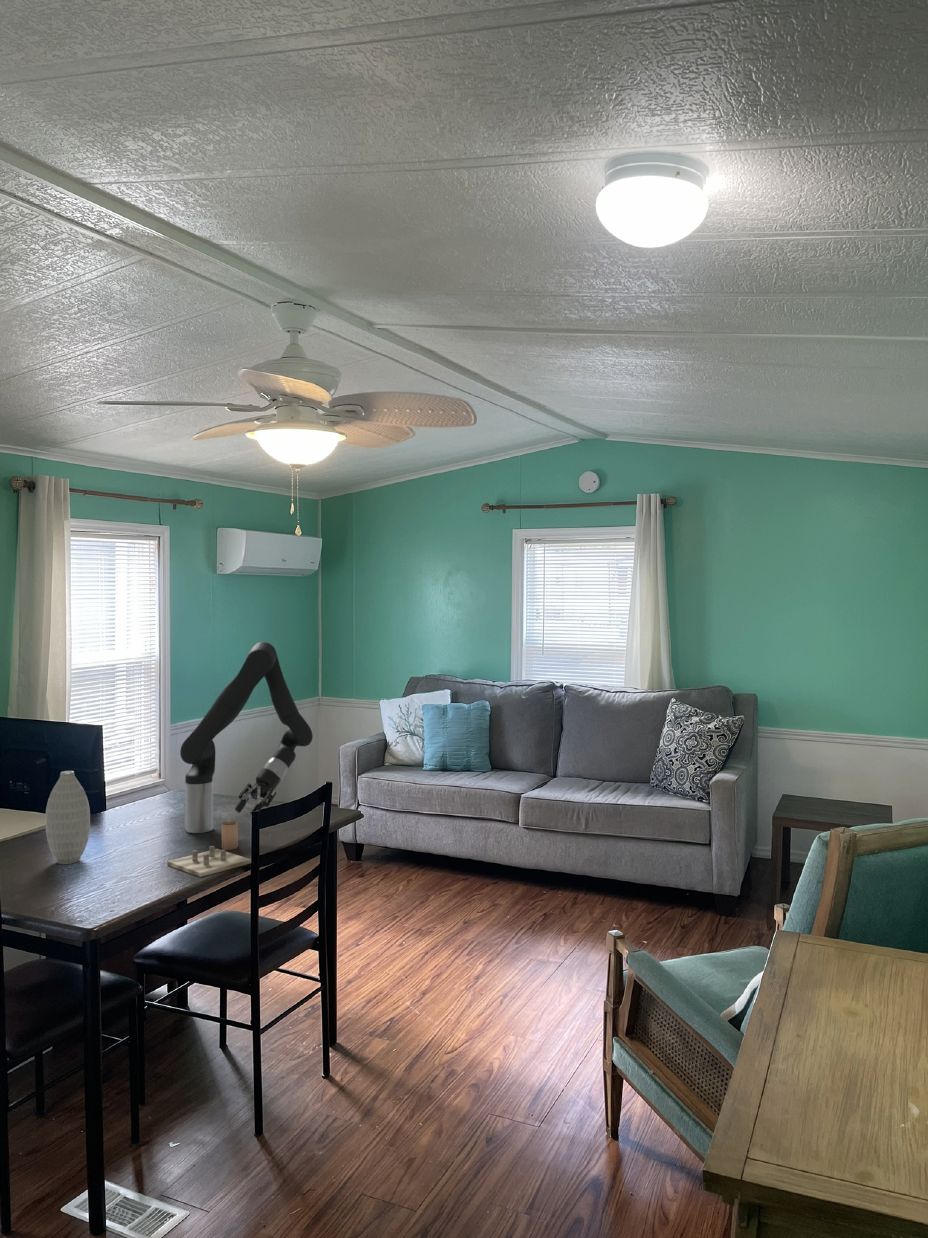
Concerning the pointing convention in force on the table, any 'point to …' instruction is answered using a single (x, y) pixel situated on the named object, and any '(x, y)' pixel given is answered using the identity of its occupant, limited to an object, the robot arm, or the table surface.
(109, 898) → the table surface
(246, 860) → the peg plate
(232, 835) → the canister
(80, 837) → the vase
